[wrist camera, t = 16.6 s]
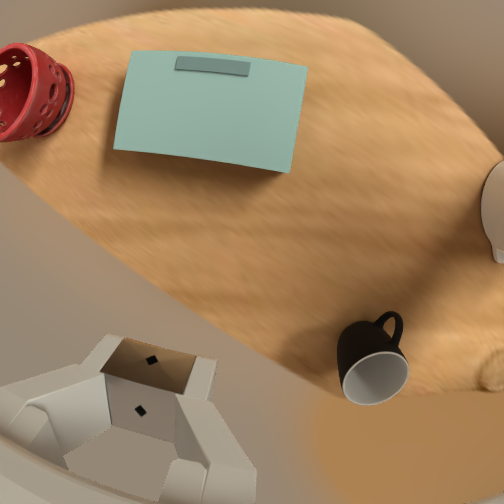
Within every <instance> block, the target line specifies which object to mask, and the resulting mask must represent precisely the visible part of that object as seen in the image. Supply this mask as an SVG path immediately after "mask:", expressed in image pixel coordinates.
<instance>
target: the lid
mask: <svg viewBox="0 0 504 504" xmlns="http://www.w3.org/2000/svg"><path fill="white" fill-rule="evenodd" d="M307 71H308V67H307V66H302V65H296V64H291V63H285V62H280V61H274V60H267V59H260V58H253V57H245V56H237V55H227V54H217V53H204V52H187V51H132V53H131V57H130V61H129V65H128V70H127V74H126V79H125V84H124V88H123V93H122V98H121V104H120V109H119V115H118V121H117V127H116V133H115V140H114V147H113V149H118V150H129V151H139V152H149V153H158V154H167V155H175V156H183V157H191V158H198V159H205V160H212V161H219V162H226V163H232V164H238V165H244V166H250V167H256V168H262V169H268V170H273V171H279V172H284V173H290V168H291V162H292V157H293V151H294V146H295V140H296V134H297V129H298V123H299V117H300V112H301V106H302V100H303V94H304V88H305V83H306V77H307Z"/></svg>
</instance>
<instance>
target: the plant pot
mask: <svg viewBox="0 0 504 504" xmlns="http://www.w3.org/2000/svg"><path fill="white" fill-rule="evenodd" d="M13 56H16V57H14V58H12V57H13ZM25 57H29V58H25ZM16 62H20V64H19V65H17V66H13V64H14V63H16ZM3 64H6V65H8V66H7V68H6V70H5V71H4V72H2V73H1V74H0V81H1V80H2V79H4V80H5V83H4V85H3V86H2V87H0V113H1V114H0V123H3V124H4V125H5V126H2V125H1V124H0V142H11V141H18V140H23V139H26V138H29V137H43V136H46V135H49V134H51V133H52V132H54V131H55V130H56V129H57V128H58V127H59V126H60V125H61V124H62V123H63V122H64V120H65V119H66V117H67V115H68V113H69V112H70V109H71V106H72V103H73V99H74V80H73V77H72V75H71V73H70V71H69V70H68V69H67V68H66V67H65V66H64V65H62V64H60V63H56V61H55V60H54V59H52V58H51V57H50V56H48V55H47V54H46V53H44V52H43V51H41V50H39V49H37V48H35V47H32V46H30V45H27V44H23V43H13V44H9V45H7V46H5V47H4V48H2V49H0V65H3Z"/></svg>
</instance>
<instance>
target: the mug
mask: <svg viewBox="0 0 504 504" xmlns="http://www.w3.org/2000/svg"><path fill="white" fill-rule="evenodd" d="M391 317H394V318H395V331H394V334H393V336H392V338H391V337H390V336H389V335H388V334H387V333H386V332H385V330H384V329H383V325H384V323H385V322H386V321H387V320H388V319H389V318H391ZM402 332H403V321H402V318H401V316H400V315H399V314H398V313H396V312H394V311H389V312H386V313H384V314H383V315H382V316H380V317H379V318H378V319H377V320H376V321H375V322H373V323H372V322H368V321H360V322H356V323H353V324H351V325H350V326H348V327H347V328H346V329H345V330H344V331H343V333H342V334H341V336H340V338H339V341H338V346H337V362H338V371H339V377H340V382H341V387H342V390H343V393H344V395H345V396H346V398H347V399H348V400H349V401H351V402H353V403H355V404H358V405H366V406H367V405H376V404H379V403H382V402H384V401H387V400H388V399H390V398H392V397H393V396H395V395H396V394H397V393H398V392H399V391H400V390H401V389H402V388H403V386H404V385H405V383H406V381H407V379H408V376H409V365H408V362H407V360H406V358H405V356H404V355H403V353H402V352H401V350H400V349H399V347H398V345H399V342H400V339H401V336H402Z"/></svg>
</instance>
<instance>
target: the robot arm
mask: <svg viewBox="0 0 504 504" xmlns="http://www.w3.org/2000/svg"><path fill="white" fill-rule="evenodd" d="M481 217H482V223H483V227H484V230H485V233H486V235H487V237H488V238H489V240H490V242H491V244H492V250H493V257H494V260H495V261H496V262H498V263H504V161H502V162H500V163H499V164H498V165H497V166H495V168H494V169H493V170H492V171H491V173H490V174H489V176H488V178H487V181H486V183H485V186H484V189H483V194H482V200H481ZM216 368H217V359H216V358H211V357H205V356H199V355H198V356H196V355H191V354H186V353H182V352H177V351H173V350H169V349H164V348H161V347H158V346H153V345H150V344H147V343H143V342H139V341H136V340H133V339H129V338H125V337H122V336H118V335H115V334H112V333H108V334H106V335H105V336H104V337H103V338H102V339H101V340H100V342H99V343H98V344H97V345H96V346H95V347H94V349H93V350H92V351H91V352H90V353H89V355H88V356H87V357H86V358H85V360H84V361H83V362H82V363H81V365H78V364H72V365H69V366H66V367H63V368H60V369H57V370H54V371H51V372H48V373H44V374H41V375H38V376H35V377H32V378H28V379H25V380H22V381H18V382H15V383H11V384H8V385H5V386H1V387H0V504H255V492H256V479H257V478H256V477H257V471H256V469H255V468H254V466H253V465H252V463H251V462H250V460H249V459H248V457H247V456H246V454H245V453H244V451H243V450H242V448H241V447H240V445H239V444H238V442H237V440H236V439H235V437H234V436H233V434H232V433H231V431H230V430H229V428H228V426H227V425H226V423H225V421H224V420H223V418H222V417H221V415H220V413H219V412H218V410H217V408H216V407H215V405H214V403H213V402H211V400H212V395H213V388H214V381H215V375H216ZM111 425H114V426H117V427H120V428H123V429H127V430H130V431H134V432H137V433H141V434H144V435H148V436H151V437H154V438H158V439H161V440H164V441H169V442H172V443H174V446H175V448H176V451H177V454H178V456H179V459H177V460H174V461H172V462H171V465H170V468H169V471H168V474H167V477H166V480H165V483H164V486H163V489H162V492H161V495H160V498H159V501H158V502H155V501H151V500H148V499H144V498H141V497H138V496H134V495H131V494H128V493H125V492H122V491H119V490H116V489H113V488H110V487H108V486H105V485H102V484H100V483H97V482H95V481H92V480H89V479H87V478H84V477H82V476H80V475H77V474H75V473H73V472H70V471H69V469H68V467H67V465H66V463H65V460H64V458H63V455H65V454H67V453H68V452H70V451H71V450H73V449H75V448H77V447H79V446H80V445H82V444H84V443H85V442H87V441H89V440H91V439H92V438H94V437H96V436H97V435H99V434H100V433H102V432H104V431H105V430H107V429H109V428H110V427H112V426H111ZM464 504H504V491H502V492H499V493H497V494H494V495H491V496H488V497H484V498H482V499H478V500H475V501H471V502H468V503H464Z"/></svg>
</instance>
